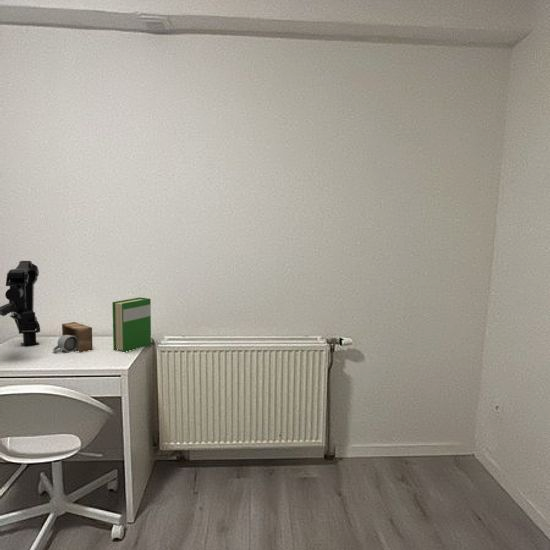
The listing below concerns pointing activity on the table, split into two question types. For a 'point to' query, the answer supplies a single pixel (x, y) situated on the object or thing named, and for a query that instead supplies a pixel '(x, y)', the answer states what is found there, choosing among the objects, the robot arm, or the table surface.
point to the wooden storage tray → (79, 334)
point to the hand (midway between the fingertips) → (20, 330)
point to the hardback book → (131, 323)
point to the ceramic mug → (66, 344)
